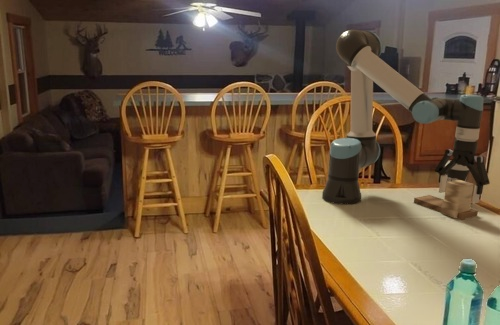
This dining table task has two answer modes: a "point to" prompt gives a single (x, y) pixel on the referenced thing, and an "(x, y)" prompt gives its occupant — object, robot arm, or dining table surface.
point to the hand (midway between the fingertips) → (458, 197)
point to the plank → (436, 205)
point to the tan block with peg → (457, 198)
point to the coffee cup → (457, 173)
